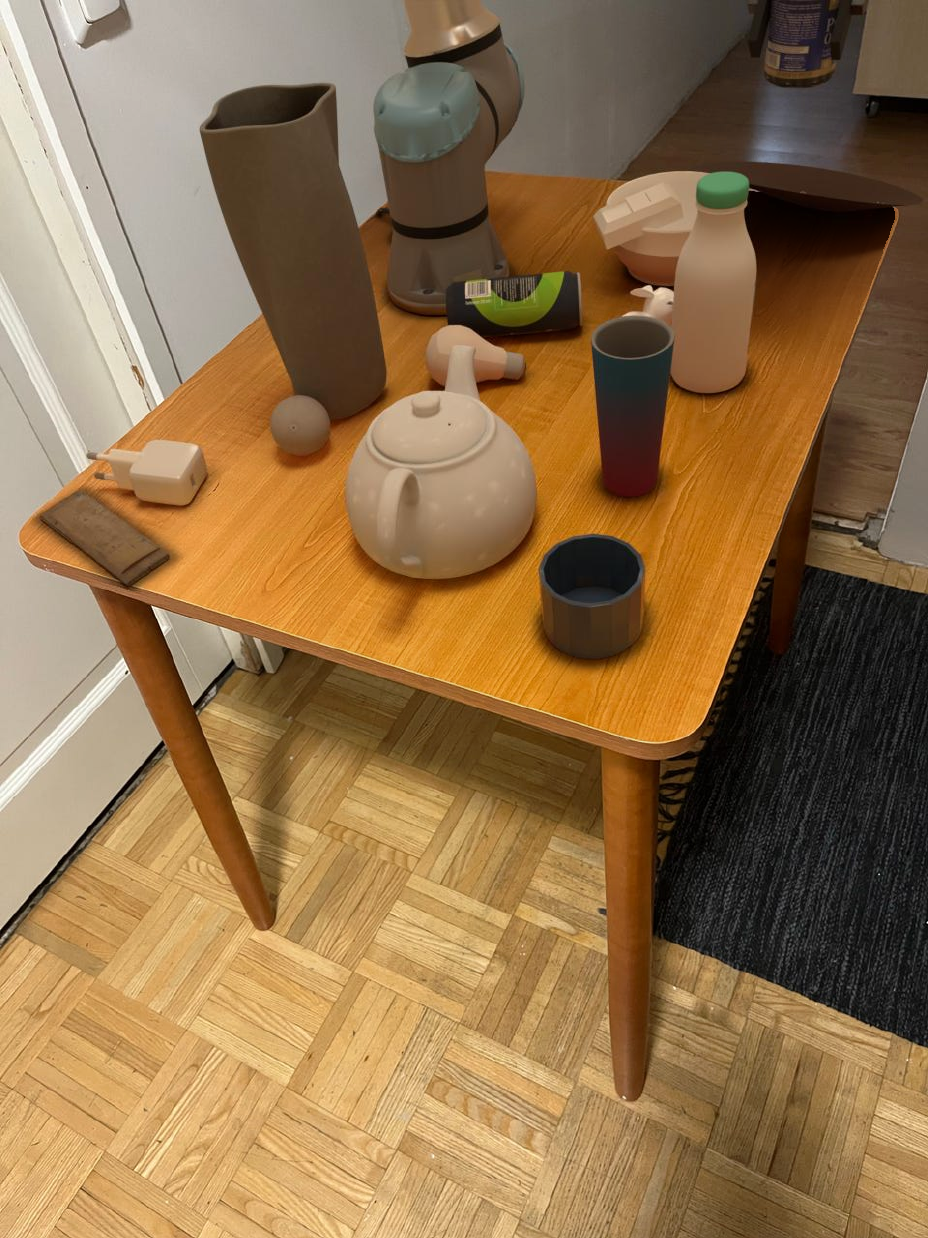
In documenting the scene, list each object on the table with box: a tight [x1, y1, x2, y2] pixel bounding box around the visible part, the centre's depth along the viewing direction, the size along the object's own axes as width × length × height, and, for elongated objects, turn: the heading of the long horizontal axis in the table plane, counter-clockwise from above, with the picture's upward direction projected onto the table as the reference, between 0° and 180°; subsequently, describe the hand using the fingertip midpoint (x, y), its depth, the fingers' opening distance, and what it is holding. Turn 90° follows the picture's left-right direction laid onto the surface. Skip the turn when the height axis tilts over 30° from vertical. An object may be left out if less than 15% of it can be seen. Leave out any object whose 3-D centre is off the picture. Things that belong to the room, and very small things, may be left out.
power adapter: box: [85, 438, 208, 506], centre depth 95 cm, size 11×5×6 cm
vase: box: [198, 82, 388, 422], centre depth 93 cm, size 12×12×30 cm
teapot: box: [344, 345, 538, 580], centre depth 82 cm, size 19×18×14 cm
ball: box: [269, 394, 331, 457], centre depth 96 cm, size 6×6×6 cm
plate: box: [691, 161, 924, 213], centre depth 118 cm, size 28×28×4 cm
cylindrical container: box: [538, 533, 646, 660], centre depth 75 cm, size 8×8×6 cm
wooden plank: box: [39, 489, 171, 587], centre depth 91 cm, size 17×1×5 cm
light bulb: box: [424, 325, 527, 387], centre depth 101 cm, size 7×7×11 cm
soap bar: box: [593, 183, 684, 250], centre depth 107 cm, size 5×9×3 cm, turn 98°
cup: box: [590, 315, 675, 498], centre depth 83 cm, size 7×7×15 cm
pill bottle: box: [763, 0, 841, 89], centre depth 82 cm, size 6×6×11 cm
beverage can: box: [446, 270, 583, 338], centre depth 107 cm, size 6×6×15 cm
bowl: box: [605, 170, 710, 287], centre depth 113 cm, size 16×16×8 cm
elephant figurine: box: [621, 284, 674, 328], centre depth 101 cm, size 7×12×6 cm
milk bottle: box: [670, 172, 757, 394], centre depth 92 cm, size 8×8×20 cm
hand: (794, 49), depth 81 cm, fingers closed on pill bottle, 6 cm apart
